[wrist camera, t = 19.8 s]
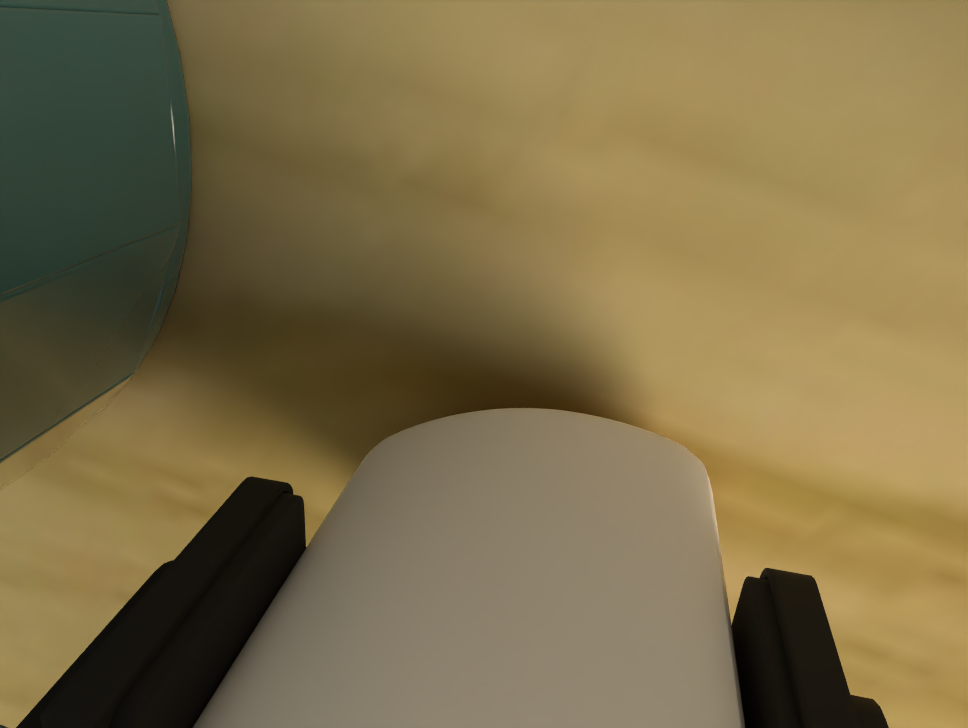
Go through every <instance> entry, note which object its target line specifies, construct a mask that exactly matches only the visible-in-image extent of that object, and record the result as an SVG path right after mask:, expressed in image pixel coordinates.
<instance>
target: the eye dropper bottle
mask: <svg viewBox="0 0 968 728" xmlns="http://www.w3.org/2000/svg"><path fill="white" fill-rule="evenodd" d="M193 728H745V721H744V714H743V707H742V699H741V692H740V685H739V678H738V670H737V663H736V656H735V648H734V641H733V634H732V627H731V620H730V613H729V606H728V599H727V592H726V585H725V578H724V570H723V563H722V556H721V549H720V542H719V535H718V528H717V521H716V514H715V508H714V501H713V494H712V488H711V484H710V481H709V477H708V474H707V471H706V468H705V466H704V464H703V463H702V462H701V460H700V459H699V458H697V457H696V456H695V455H694V454H693V453H692V452H690V451H689V450H688V449H687V448H686V447H684V446H683V445H682V444H679V443H677V442H675V441H673V440H671V439H669V438H666V437H664V436H662V435H659V434H656V433H653V432H651V431H648V430H645V429H642V428H639V427H636V426H632V425H629V424H626V423H623V422H619V421H615V420H611V419H607V418H603V417H598V416H594V415H589V414H584V413H577V412H571V411H564V410H554V409H540V408H504V409H491V410H482V411H474V412H468V413H462V414H456V415H452V416H447V417H443V418H439V419H435V420H432V421H428V422H425V423H421V424H418V425H416V426H413V427H410V428H407V429H404V430H402V431H400V432H398V433H396V434H394V435H392V436H390V437H387V438H385V439H384V440H382V441H381V442H380V443H378V444H377V445H376V446H375V447H374V448H373V449H372V450H371V451H370V452H369V453H368V454H367V455H366V456H365V458H364V459H363V461H362V462H361V463H360V465H359V467H358V468H357V470H356V471H355V473H354V474H353V476H352V477H351V479H350V481H349V482H348V484H347V485H346V487H345V488H344V490H343V491H342V493H341V495H340V496H339V498H338V499H337V501H336V502H335V504H334V505H333V507H332V509H331V510H330V512H329V513H328V515H327V516H326V518H325V520H324V521H323V523H322V524H321V526H320V527H319V529H318V530H317V532H316V534H315V535H314V537H313V538H312V540H311V541H310V543H309V545H308V546H307V548H306V549H305V551H304V552H303V554H302V556H301V557H300V559H299V560H298V562H297V563H296V565H295V566H294V568H293V570H292V571H291V573H290V574H289V576H288V577H287V579H286V581H285V582H284V584H283V585H282V587H281V588H280V590H279V592H278V593H277V595H276V596H275V598H274V599H273V601H272V603H271V604H270V606H269V607H268V609H267V611H266V612H265V614H264V615H263V617H262V618H261V620H260V622H259V623H258V625H257V626H256V628H255V630H254V631H253V633H252V634H251V636H250V637H249V639H248V641H247V642H246V644H245V645H244V647H243V649H242V650H241V652H240V653H239V655H238V656H237V658H236V660H235V661H234V663H233V664H232V666H231V668H230V669H229V671H228V672H227V674H226V675H225V677H224V679H223V680H222V682H221V683H220V685H219V687H218V688H217V690H216V691H215V693H214V694H213V696H212V698H211V699H210V701H209V702H208V704H207V706H206V707H205V709H204V710H203V712H202V713H201V715H200V717H199V718H198V720H197V721H196V723H195V725H194V726H193Z"/></svg>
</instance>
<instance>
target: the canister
mask: <svg viewBox="0 0 968 728" xmlns="http://www.w3.org/2000/svg"><path fill="white" fill-rule="evenodd" d="M191 188H192V174H191V141H190V119H189V112H188V105H187V98H186V91H185V84H184V77H183V71H182V64H181V57H180V51H179V47H178V43H177V39H176V36H175V32H174V28H173V24H172V20H171V16H170V12H169V8H168V4H167V0H0V491H1V490H2V489H3V488H5V487H6V486H8V485H9V484H10V483H12V482H13V481H15V480H16V479H18V478H19V477H20V476H22V475H23V474H25V473H26V472H27V471H29V470H30V469H32V468H33V467H35V466H36V465H37V464H39V463H40V462H42V461H43V460H45V459H46V458H47V457H49V456H50V455H51V454H52V453H53V452H54V451H55V450H56V449H57V448H58V447H59V446H61V445H62V444H63V443H64V442H65V441H66V440H67V439H68V438H69V437H70V436H71V435H72V434H73V433H74V432H75V431H76V430H77V429H78V428H79V427H81V426H82V425H83V424H85V423H86V422H87V421H88V420H90V419H91V418H92V417H93V416H95V415H96V414H97V413H98V412H100V411H101V410H102V409H103V408H105V407H106V406H107V405H108V404H109V403H110V402H111V401H112V400H113V398H114V397H115V396H116V395H117V394H118V393H119V391H120V390H121V389H122V388H123V387H124V386H125V385H126V383H127V382H128V381H129V380H130V379H131V378H132V377H133V375H134V374H135V372H136V371H137V369H138V368H139V366H140V364H141V363H142V361H143V359H144V358H145V356H146V354H147V353H148V351H149V349H150V348H151V346H152V344H153V343H154V341H155V339H156V338H157V335H158V333H159V330H160V328H161V325H162V323H163V320H164V318H165V315H166V313H167V310H168V308H169V305H170V303H171V300H172V298H173V295H174V293H175V289H176V284H177V280H178V276H179V272H180V267H181V263H182V259H183V254H184V250H185V246H186V241H187V231H188V220H189V209H190V199H191Z"/></svg>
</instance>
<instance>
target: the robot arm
mask: <svg viewBox="0 0 968 728" xmlns="http://www.w3.org/2000/svg"><path fill="white" fill-rule="evenodd" d="M305 549H306V539H305V516H304V502H303V499H302V497H301V496H298V495H293V489H292V487H291V485H290V484H288V483H285V482H279V481H274V480H268V479H262V478H257V477H248V478H246V479H245V480H244V481H243V482H242V483H241V484H240V485H239V486H238V487H237V489H236V490H235V491H234V492H233V493H232V494H231V496H230V497H229V498H228V499H227V500H226V501H225V502H224V504H223V505H222V506H221V507H220V508H219V509H218V510H217V512H216V513H215V514H214V515H213V516H212V517H211V518H210V520H209V521H208V522H207V523H206V524H205V525H204V527H203V528H202V529H201V530H200V531H199V532H198V533H197V535H196V536H195V537H194V538H193V539H192V540H191V541H190V543H189V544H188V545H187V546H186V547H185V548H184V549H183V551H182V552H181V553H180V554H179V555H178V556H177V558H176V559H175V560H174V561H173V560H172V561H169V562H167V563H164V564H163V565H162V566H161V567H159V568H158V569H157V570H156V571H155V572H154V573H153V574H152V575H151V576H150V578H149V579H148V580H147V581H146V582H145V583H144V584H143V585H142V587H141V588H140V589H139V590H138V591H137V592H136V593H135V594H134V596H133V597H132V598H131V599H130V600H129V601H128V602H127V603H126V605H125V606H124V607H123V608H122V609H121V610H120V611H119V612H118V614H117V615H116V616H115V617H114V618H113V619H112V620H111V621H110V623H109V624H108V625H107V626H106V627H105V628H104V629H103V630H102V632H101V633H100V634H99V635H98V636H97V637H96V638H95V639H94V641H93V642H92V643H91V644H90V645H89V646H88V647H87V648H86V650H85V651H84V652H83V653H82V654H81V655H80V656H79V657H78V659H77V660H76V661H75V662H74V663H73V664H72V665H71V666H70V668H69V669H68V670H67V671H66V672H65V673H64V674H63V675H62V677H61V678H60V679H59V680H58V681H57V682H56V683H55V684H54V686H53V687H52V688H51V689H50V690H49V691H48V692H47V693H46V695H45V696H44V697H43V698H42V699H41V700H40V701H39V702H38V704H37V705H36V706H35V707H34V708H33V709H32V710H31V711H30V713H29V714H28V715H27V716H26V717H25V718H24V719H23V721H22V722H21V723H20V724H19V725H18V726H17V727H16V728H193V726H194V725H195V723H196V721H197V720H198V718H199V717H200V715H201V713H202V712H203V710H204V709H205V707H206V706H207V704H208V702H209V701H210V699H211V698H212V696H213V694H214V693H215V691H216V690H217V688H218V687H219V685H220V683H221V682H222V680H223V679H224V677H225V675H226V674H227V672H228V671H229V669H230V668H231V666H232V664H233V663H234V661H235V660H236V658H237V656H238V655H239V653H240V652H241V650H242V649H243V647H244V645H245V644H246V642H247V641H248V639H249V637H250V636H251V634H252V633H253V631H254V630H255V628H256V626H257V625H258V623H259V622H260V620H261V618H262V617H263V615H264V614H265V612H266V611H267V609H268V607H269V606H270V604H271V603H272V601H273V599H274V598H275V596H276V595H277V593H278V592H279V590H280V588H281V587H282V585H283V584H284V582H285V581H286V579H287V577H288V576H289V574H290V573H291V571H292V570H293V568H294V566H295V565H296V563H297V562H298V560H299V559H300V557H301V556H302V554H303V552H304V551H305ZM731 627H732V634H733V641H734V648H735V656H736V663H737V670H738V678H739V685H740V692H741V699H742V707H743V714H744V721H745V728H889V727H888V725H887V722H886V719H885V717H884V714H883V712H882V710H881V708H880V706H879V705H878V704H877V703H876V702H875V701H874V700H873V699H869V698H864V697H859V696H854V695H850V692H849V689H848V685H847V682H846V679H845V676H844V672H843V669H842V666H841V662H840V659H839V656H838V653H837V649H836V646H835V643H834V639H833V636H832V633H831V629H830V626H829V623H828V620H827V616H826V613H825V610H824V606H823V603H822V600H821V596H820V593H819V590H818V587H817V584H816V581H815V579H814V578H813V577H812V576H810V575H804V574H798V573H793V572H787V571H782V570H776V569H770V568H765V569H764V570H763V572H762V573H761V576H760V578H755V577H749V576H748V577H746V579H745V581H744V584H743V587H742V590H741V594H740V598H739V601H738V605H737V608H736V612H735V615H734V619H733V622H732V626H731ZM0 728H7V727H5V726H2V725H0Z"/></svg>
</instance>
